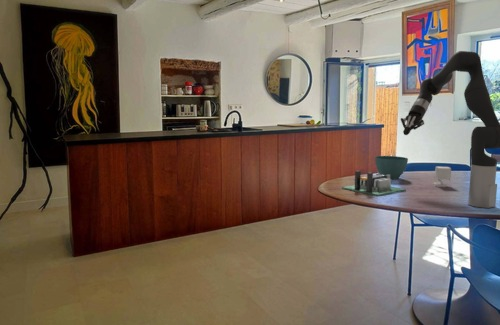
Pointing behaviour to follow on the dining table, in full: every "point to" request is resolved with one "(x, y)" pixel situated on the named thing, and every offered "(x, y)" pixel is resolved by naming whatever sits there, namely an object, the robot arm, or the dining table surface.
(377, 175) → the grey flat bar
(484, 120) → the robot arm
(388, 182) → the heatsink board
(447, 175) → the security camera
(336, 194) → the dining table surface
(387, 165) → the plant pot
